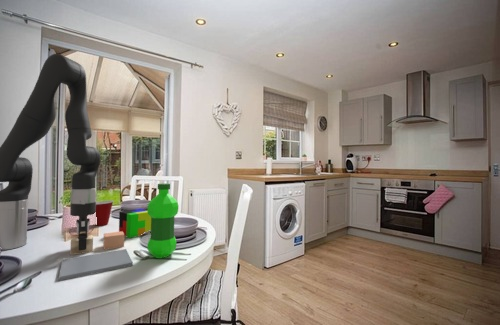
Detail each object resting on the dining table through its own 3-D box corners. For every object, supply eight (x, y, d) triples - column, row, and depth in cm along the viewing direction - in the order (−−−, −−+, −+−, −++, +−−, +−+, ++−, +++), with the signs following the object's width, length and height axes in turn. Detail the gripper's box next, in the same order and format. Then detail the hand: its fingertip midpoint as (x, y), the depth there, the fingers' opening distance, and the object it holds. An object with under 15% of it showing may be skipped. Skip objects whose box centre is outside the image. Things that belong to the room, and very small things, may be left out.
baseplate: (58, 280, 64) (59, 276, 64) (62, 262, 75) (62, 259, 75) (132, 265, 74) (132, 262, 74) (125, 251, 86) (125, 249, 86)
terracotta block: (104, 250, 87) (104, 236, 87) (103, 246, 91) (103, 233, 91) (123, 246, 91) (124, 234, 91) (122, 243, 95) (122, 231, 95)
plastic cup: (97, 221, 128) (98, 199, 128) (117, 222, 127) (118, 200, 127) (82, 227, 117) (83, 202, 117) (104, 227, 116) (105, 203, 117)
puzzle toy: (140, 229, 115) (140, 208, 116) (151, 233, 110) (152, 211, 110) (118, 233, 107) (119, 211, 107) (130, 238, 101) (130, 214, 102)
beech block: (70, 255, 82) (70, 241, 82) (71, 250, 86) (71, 237, 86) (92, 251, 85) (93, 238, 85) (92, 247, 89) (92, 234, 89)
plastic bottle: (183, 252, 87) (184, 183, 87) (164, 263, 77) (166, 185, 77) (160, 248, 90) (161, 182, 90) (139, 258, 80) (141, 184, 80)
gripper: (71, 199, 89) (70, 242, 89) (69, 204, 78) (68, 254, 77) (95, 198, 94) (94, 239, 93) (96, 203, 82) (95, 250, 82)
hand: (82, 246), depth 85 cm, fingers open, 8 cm apart
